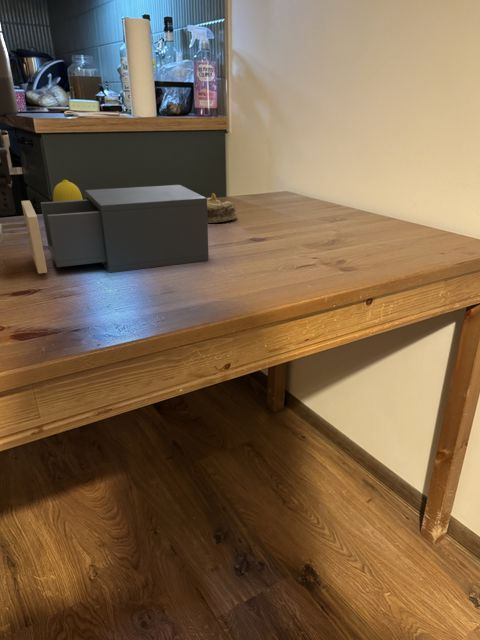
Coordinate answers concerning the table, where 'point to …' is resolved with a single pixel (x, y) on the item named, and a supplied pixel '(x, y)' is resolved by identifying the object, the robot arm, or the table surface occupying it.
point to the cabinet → (151, 226)
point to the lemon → (66, 192)
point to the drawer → (63, 233)
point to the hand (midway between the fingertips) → (7, 213)
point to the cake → (219, 210)
